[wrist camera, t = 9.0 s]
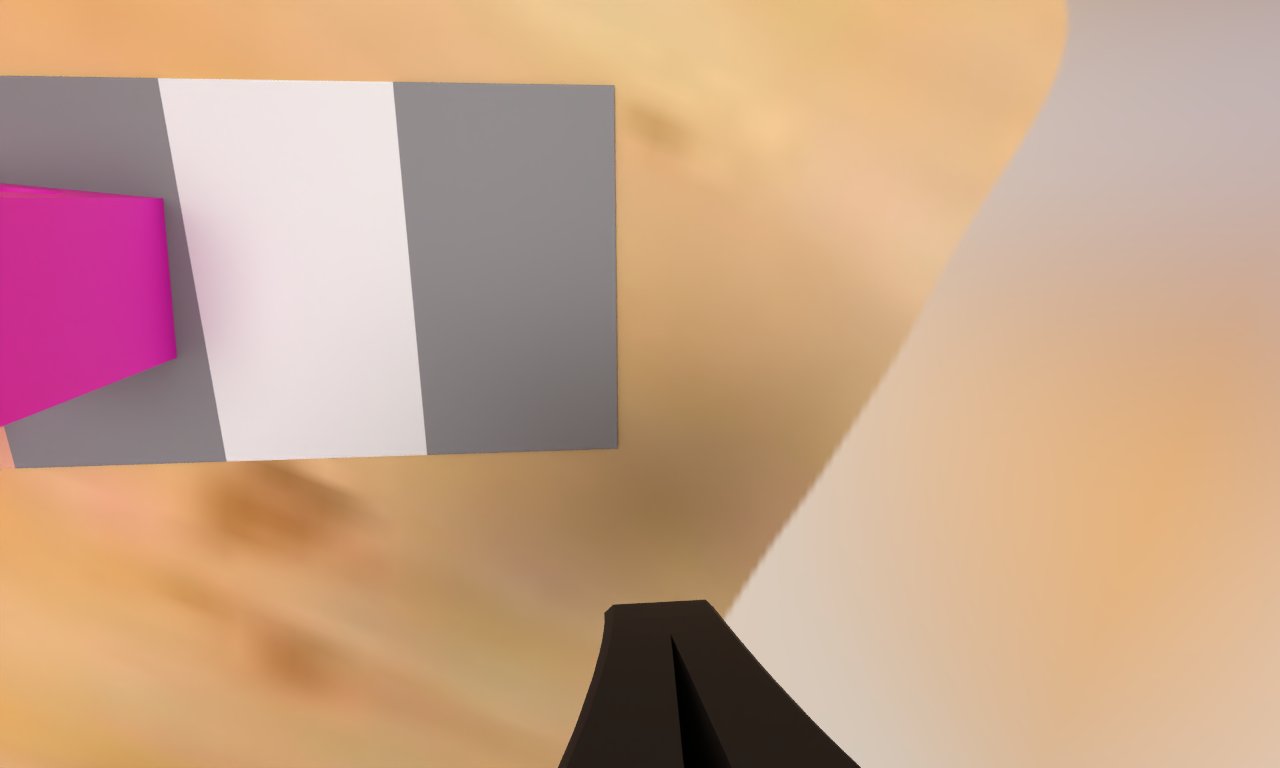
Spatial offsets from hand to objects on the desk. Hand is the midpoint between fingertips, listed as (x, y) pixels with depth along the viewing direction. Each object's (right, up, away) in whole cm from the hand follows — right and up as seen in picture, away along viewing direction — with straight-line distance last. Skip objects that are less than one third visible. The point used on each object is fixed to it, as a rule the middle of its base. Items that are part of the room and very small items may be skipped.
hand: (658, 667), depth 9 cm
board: (-13, +6, +7) cm, 16 cm away
